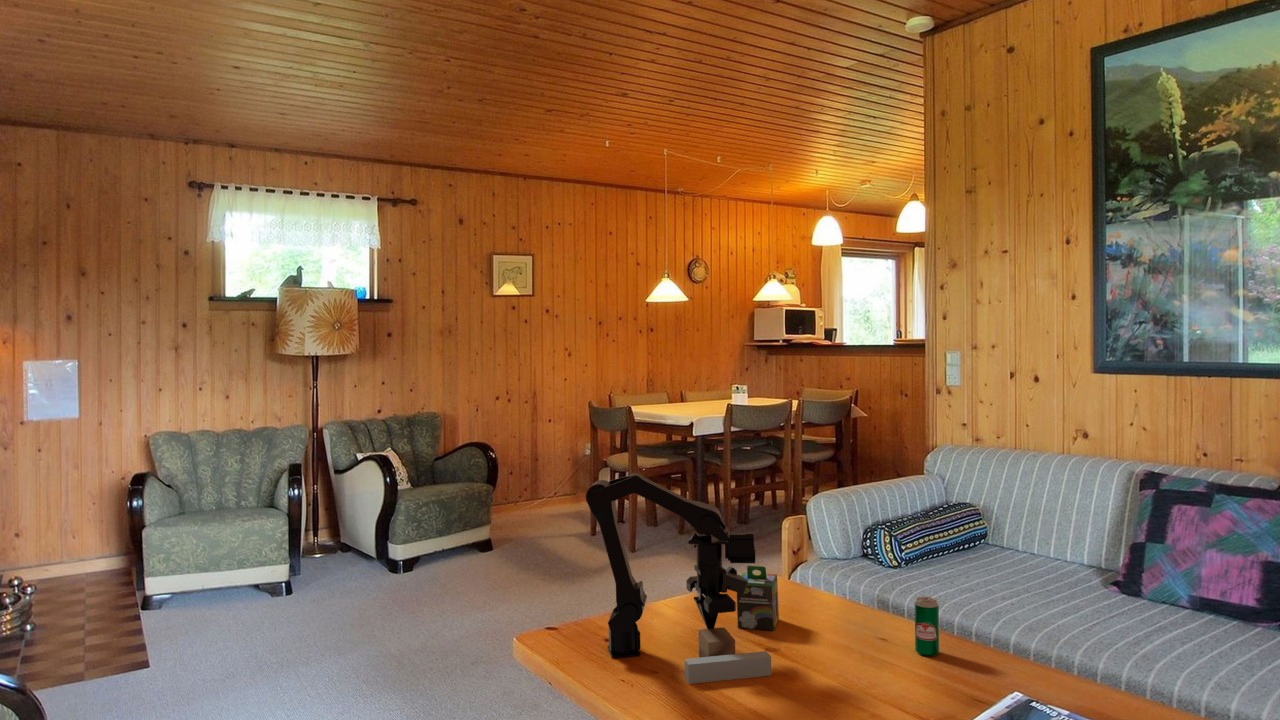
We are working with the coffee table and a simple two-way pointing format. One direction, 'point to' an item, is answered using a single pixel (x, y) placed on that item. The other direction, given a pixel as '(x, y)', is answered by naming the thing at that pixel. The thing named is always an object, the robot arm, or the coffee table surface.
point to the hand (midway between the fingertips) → (710, 631)
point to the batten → (727, 667)
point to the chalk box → (758, 600)
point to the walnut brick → (715, 642)
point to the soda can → (927, 626)
